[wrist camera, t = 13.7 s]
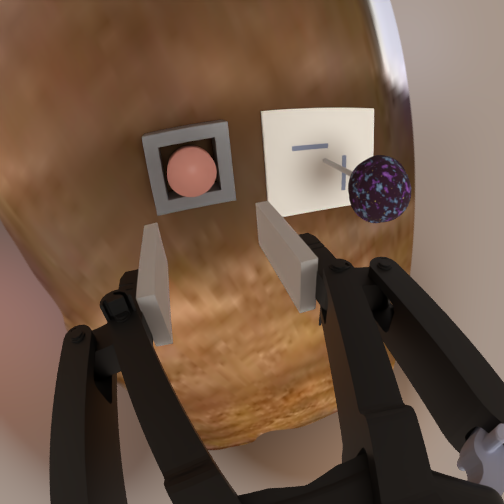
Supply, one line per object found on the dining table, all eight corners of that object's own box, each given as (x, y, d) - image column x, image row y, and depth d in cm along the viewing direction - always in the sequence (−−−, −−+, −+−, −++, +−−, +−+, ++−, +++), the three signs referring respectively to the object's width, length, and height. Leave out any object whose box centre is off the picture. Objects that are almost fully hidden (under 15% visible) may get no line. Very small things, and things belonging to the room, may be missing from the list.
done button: (163, 149, 29) (163, 154, 27) (209, 141, 30) (213, 145, 28) (171, 192, 32) (171, 201, 29) (215, 184, 33) (219, 192, 30)
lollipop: (354, 167, 38) (430, 208, 25) (315, 194, 39) (383, 249, 26) (333, 125, 34) (415, 151, 22) (291, 153, 35) (360, 193, 22)
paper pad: (260, 111, 32) (261, 111, 31) (372, 108, 35) (374, 108, 34) (268, 218, 39) (269, 219, 39) (368, 200, 42) (370, 201, 41)
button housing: (144, 133, 30) (141, 137, 27) (222, 119, 31) (227, 121, 29) (158, 206, 34) (157, 215, 32) (231, 191, 36) (236, 200, 33)
